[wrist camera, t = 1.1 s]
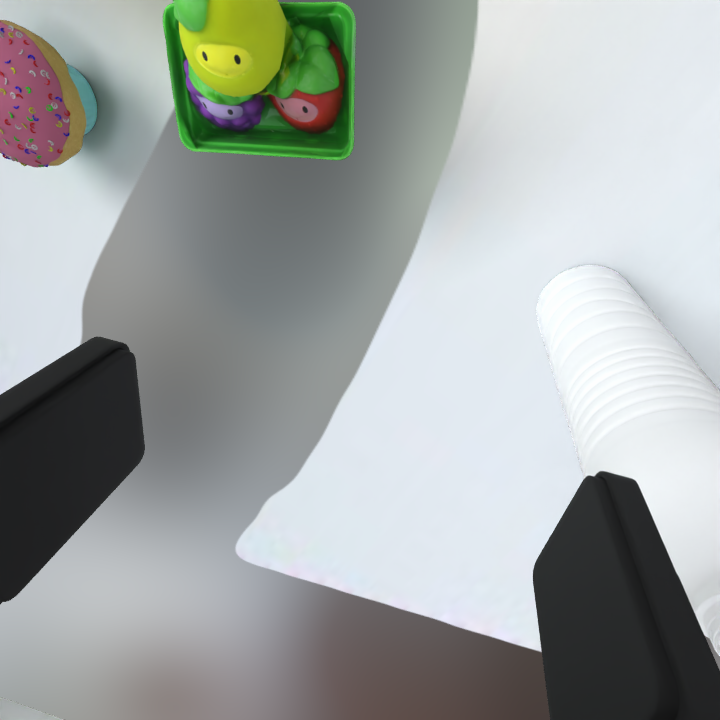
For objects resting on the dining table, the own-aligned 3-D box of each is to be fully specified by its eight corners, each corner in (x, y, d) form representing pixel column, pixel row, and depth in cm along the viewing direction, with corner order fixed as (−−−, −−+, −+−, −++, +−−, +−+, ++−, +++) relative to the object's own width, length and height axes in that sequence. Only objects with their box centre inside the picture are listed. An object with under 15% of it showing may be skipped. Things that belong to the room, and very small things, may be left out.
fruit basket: (218, 145, 34) (116, 162, 24) (200, -7, 29) (67, -60, 20) (369, 153, 32) (324, 175, 22) (375, -8, 27) (322, -69, 18)
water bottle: (539, 264, 33) (659, 558, 12) (640, 262, 31) (987, 594, 10) (529, 369, 37) (603, 728, 16) (617, 371, 36) (831, 771, 14)
